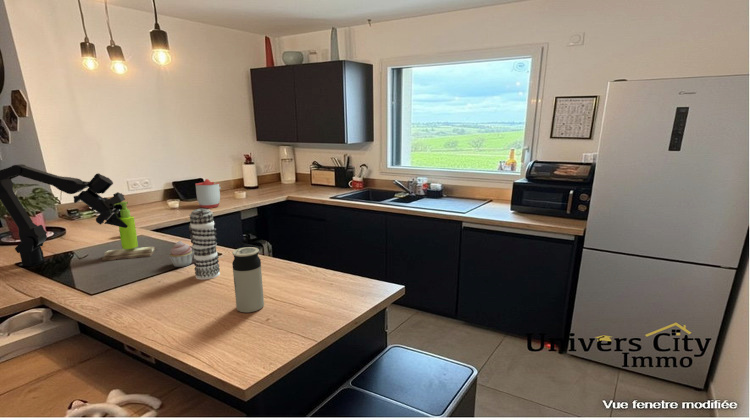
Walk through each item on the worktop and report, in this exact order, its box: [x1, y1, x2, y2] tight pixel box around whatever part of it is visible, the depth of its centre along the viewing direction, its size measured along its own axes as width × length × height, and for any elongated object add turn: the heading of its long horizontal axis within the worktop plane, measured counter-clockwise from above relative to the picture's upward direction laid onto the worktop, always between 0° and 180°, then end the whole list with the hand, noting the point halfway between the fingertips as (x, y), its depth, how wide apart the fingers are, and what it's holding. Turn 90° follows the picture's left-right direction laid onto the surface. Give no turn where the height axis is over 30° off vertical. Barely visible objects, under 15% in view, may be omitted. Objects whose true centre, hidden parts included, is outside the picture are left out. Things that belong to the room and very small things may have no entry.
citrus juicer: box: [194, 178, 222, 209], centre depth 266 cm, size 16×17×20 cm
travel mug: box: [231, 246, 265, 314], centre depth 113 cm, size 8×8×18 cm
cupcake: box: [168, 240, 194, 268], centre depth 151 cm, size 9×9×10 cm
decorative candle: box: [188, 208, 221, 281], centre depth 138 cm, size 9×9×25 cm
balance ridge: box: [101, 246, 157, 262], centre depth 165 cm, size 18×10×2 cm, turn 107°
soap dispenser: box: [114, 201, 139, 249], centre depth 162 cm, size 6×7×20 cm
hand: (129, 225), depth 163 cm, fingers closed on soap dispenser, 6 cm apart
